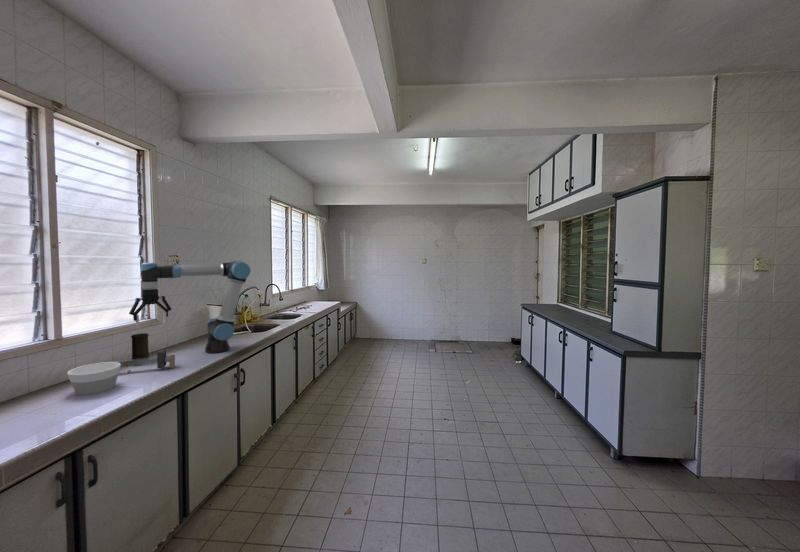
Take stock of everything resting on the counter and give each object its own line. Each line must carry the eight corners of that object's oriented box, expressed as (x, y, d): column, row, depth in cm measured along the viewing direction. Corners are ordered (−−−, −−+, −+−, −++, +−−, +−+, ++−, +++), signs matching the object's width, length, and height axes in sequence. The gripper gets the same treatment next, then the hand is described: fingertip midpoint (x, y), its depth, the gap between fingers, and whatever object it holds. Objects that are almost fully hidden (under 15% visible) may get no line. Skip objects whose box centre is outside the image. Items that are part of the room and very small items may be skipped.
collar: (166, 363, 193) (166, 348, 193) (163, 367, 186) (163, 352, 186) (160, 364, 192) (159, 349, 192) (157, 368, 185) (157, 352, 185)
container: (153, 361, 202) (153, 333, 201) (140, 366, 193) (140, 336, 192) (140, 361, 203) (139, 332, 202) (127, 365, 194) (126, 336, 193)
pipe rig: (175, 365, 196) (175, 353, 196) (173, 369, 188) (172, 357, 188) (111, 372, 182) (111, 359, 182) (106, 377, 174) (105, 364, 174)
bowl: (128, 386, 162) (127, 365, 162) (75, 401, 146) (75, 377, 145) (112, 379, 172) (112, 359, 172) (62, 391, 156) (61, 369, 155)
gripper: (171, 286, 203) (173, 320, 204) (121, 290, 182) (122, 327, 184) (176, 287, 199) (178, 321, 200) (125, 290, 178) (127, 328, 179)
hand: (151, 324), depth 192 cm, fingers open, 13 cm apart
